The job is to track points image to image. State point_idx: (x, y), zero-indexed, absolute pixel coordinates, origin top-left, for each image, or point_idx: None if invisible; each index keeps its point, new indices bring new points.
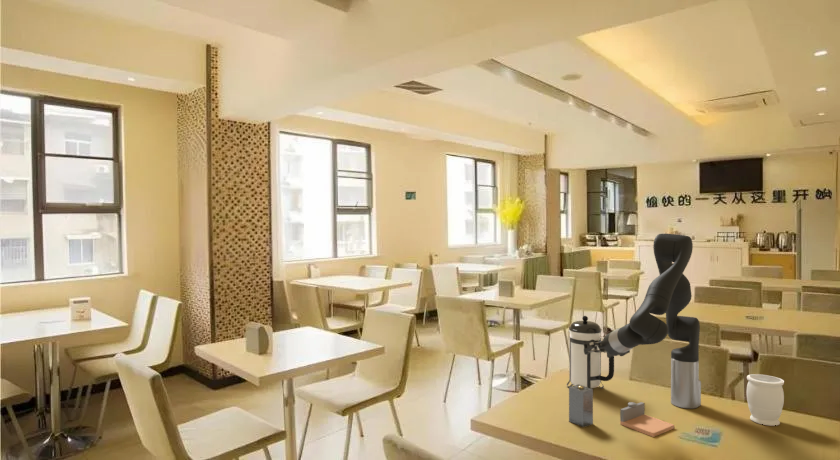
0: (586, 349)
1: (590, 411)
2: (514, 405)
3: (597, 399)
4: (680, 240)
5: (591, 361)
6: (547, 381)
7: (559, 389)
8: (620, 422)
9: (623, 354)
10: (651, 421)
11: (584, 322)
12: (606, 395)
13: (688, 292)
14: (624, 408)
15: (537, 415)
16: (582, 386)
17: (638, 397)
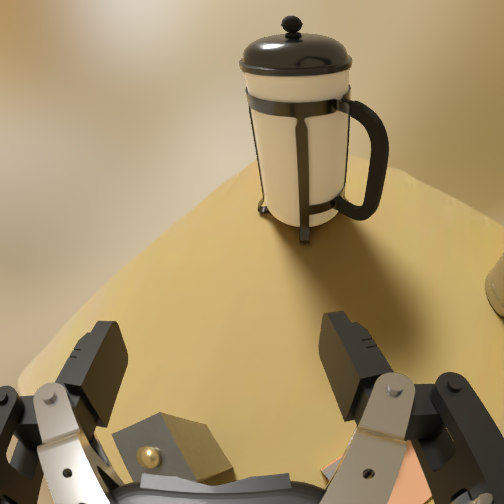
0: (18, 468)
1: (211, 476)
2: (89, 322)
3: (315, 282)
4: None
5: (312, 166)
6: (225, 185)
7: (234, 224)
8: (321, 470)
9: (438, 466)
10: (415, 458)
11: (289, 37)
12: (347, 253)
13: None
14: None
15: None
16: (153, 459)
17: (424, 261)
